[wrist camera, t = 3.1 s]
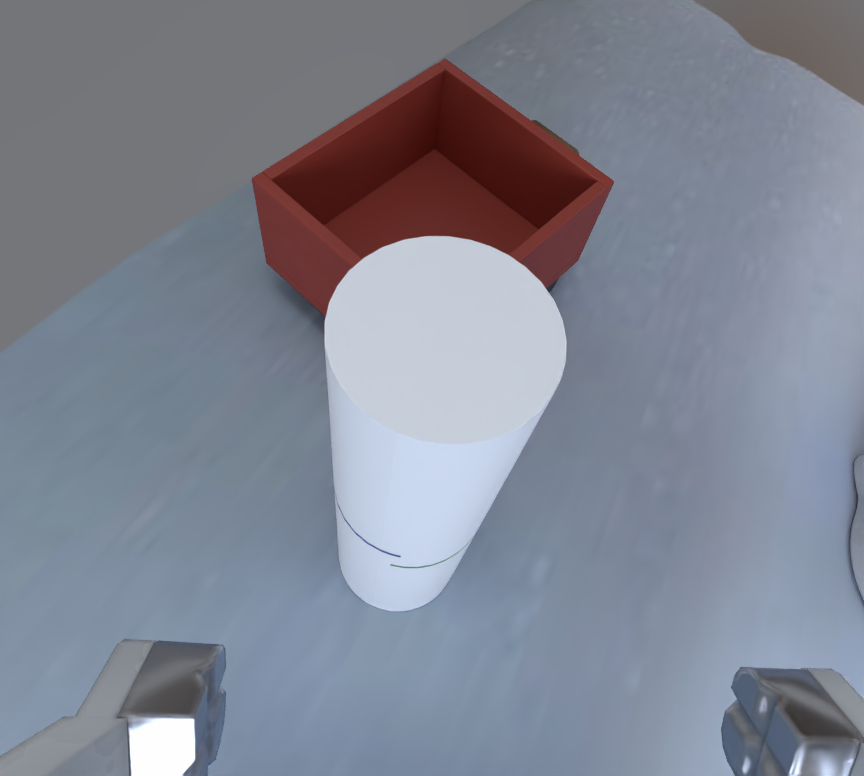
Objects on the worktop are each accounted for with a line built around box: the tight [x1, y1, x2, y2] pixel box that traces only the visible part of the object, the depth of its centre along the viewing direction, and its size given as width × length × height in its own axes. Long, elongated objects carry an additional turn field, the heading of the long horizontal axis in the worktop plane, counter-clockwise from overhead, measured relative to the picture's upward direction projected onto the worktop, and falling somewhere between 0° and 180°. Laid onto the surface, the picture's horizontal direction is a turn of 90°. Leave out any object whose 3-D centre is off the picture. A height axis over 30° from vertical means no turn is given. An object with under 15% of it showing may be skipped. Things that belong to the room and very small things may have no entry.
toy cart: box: [252, 59, 614, 317], centre depth 48 cm, size 22×15×11 cm, turn 136°
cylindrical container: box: [325, 236, 567, 611], centre depth 32 cm, size 7×7×25 cm
